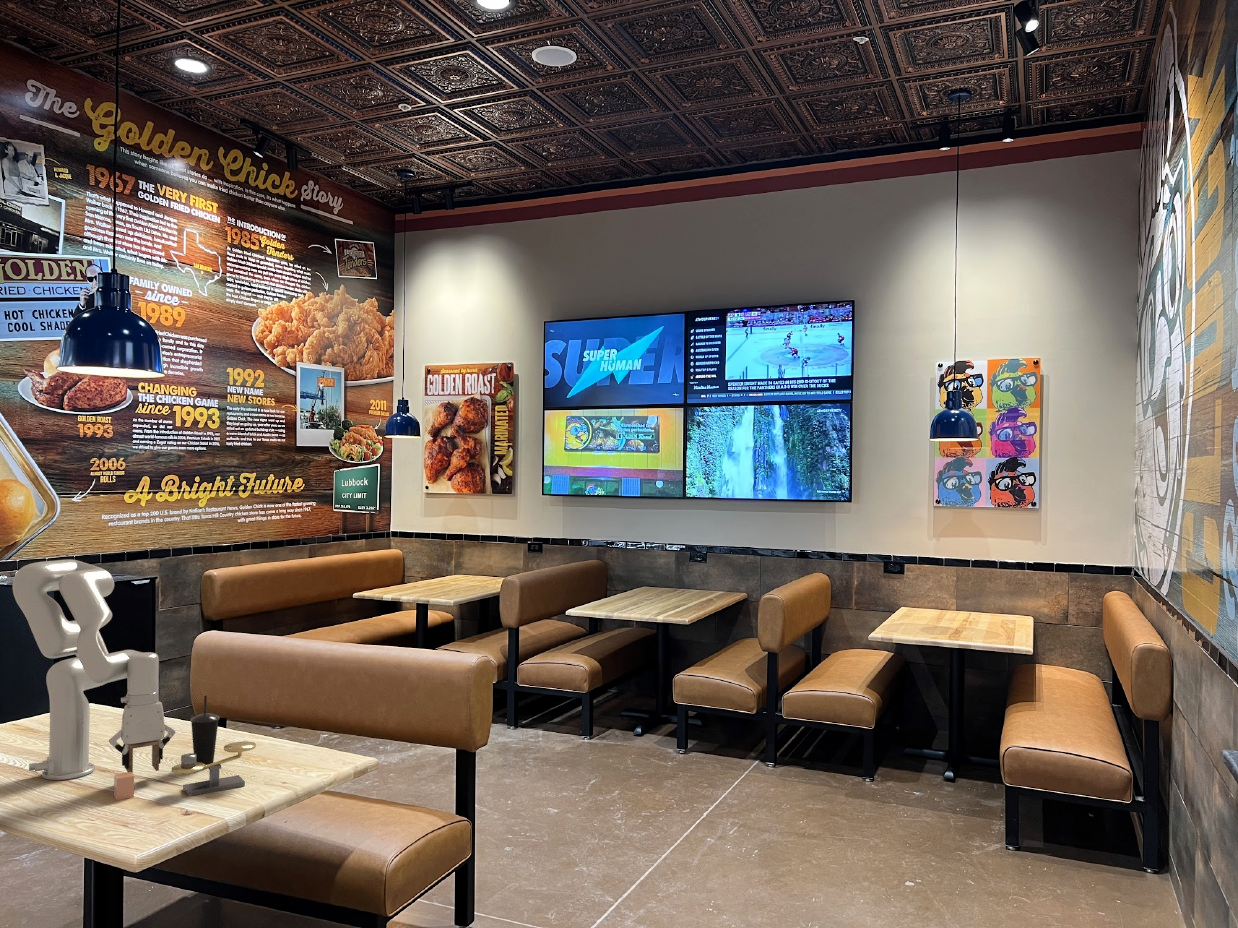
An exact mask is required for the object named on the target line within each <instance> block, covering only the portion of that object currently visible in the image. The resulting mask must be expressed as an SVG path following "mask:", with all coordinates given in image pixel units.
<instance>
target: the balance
mask: <svg viewBox="0 0 1238 928" xmlns="http://www.w3.org/2000/svg"><path fill="white" fill-rule="evenodd" d="M256 747H257V743H256V742H254V741H245V740H244V741H236V742H235V741H234V742H231V743H228V744H225V745H224V746H223V750H224V751H225V752H227V753H237V754H235V755H233V756H230V757H229V756H228V757H227V758H223V759H221V760H217V761H214V762H213V763H211V764H208V765H205V764H204V763H200V762H196V754H194V752H191V753H184V754H181V756H180V763H179V764H176V765H174V766H172V767H171V773H172V774H176V775H192V774H195V773H198V772H202V771H204V770H207V769H208V770H209V775H208V776H209V779H208V780H203V781H195V782H193V783H186V784H182V790H183V792H184V793H185V792H186V793H187V794H186V793H185V794H186V795H187V797H190V796H189V795H193V796H197V795H203V794H202V793H204V794H208V792H209V793H214V792H218V791H219V790H220V791H224V789H226V790H228V789H227V788H231V789H235V788H234V787H237V788H242V787H245V786H246V784H245V783H246V781H245V779H243V778H242V777H241V776H240V775H239V774H238V775H232V776H226V777H220V769H222V764H225V763H228V762H232V761H235V760H237V759H240V758H241V757H242V756H243V754H242V753H244V752H248V751H251V750H254V749H256ZM200 793H201V794H200Z"/></svg>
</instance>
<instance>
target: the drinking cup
mask: <svg viewBox="0 0 1238 928" xmlns="http://www.w3.org/2000/svg"><path fill="white" fill-rule="evenodd" d="M203 697H204V699H203V712H202V713H200V714H197V715H195V716H193V717H191V718H190V723H191V736H192V748H193V753H194V754H196V762H200V763H204V764H205V765H208V764H211V763H214V762H215V761H214V760H215V751H216V743H217V733H218V727H219V726H218V724H219V720H220V716H219V715H218V714H214V713H212V712H211V713H210V712H209V713H207V709H208V708H207V704H208V703H207V701H208V696H207V695H204V696H203Z"/></svg>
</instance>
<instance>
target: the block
mask: <svg viewBox="0 0 1238 928" xmlns="http://www.w3.org/2000/svg"><path fill="white" fill-rule="evenodd" d="M113 776H114V777H113V778H114V779H113V784H114V785H113V797H114V800H115V801H121V800H126V798H127V799H133V798H134V797H135V775H134V772H133V773H132V772H122V773H116V774H114V775H113ZM132 797H133V798H132Z"/></svg>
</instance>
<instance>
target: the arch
mask: <svg viewBox="0 0 1238 928" xmlns="http://www.w3.org/2000/svg"><path fill="white" fill-rule="evenodd" d="M145 747H151V766H152V767H153V769H154V770H155V772H159V770H160V764H159V741H153V742H147V743H140V744H133V745H129V750H128V754H129V768H128V769H125V770H126V773H128V772H132V773H133V774H134V769H133V768H134V767H133V766H134V762H133V761H134V749H138V748H145Z"/></svg>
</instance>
